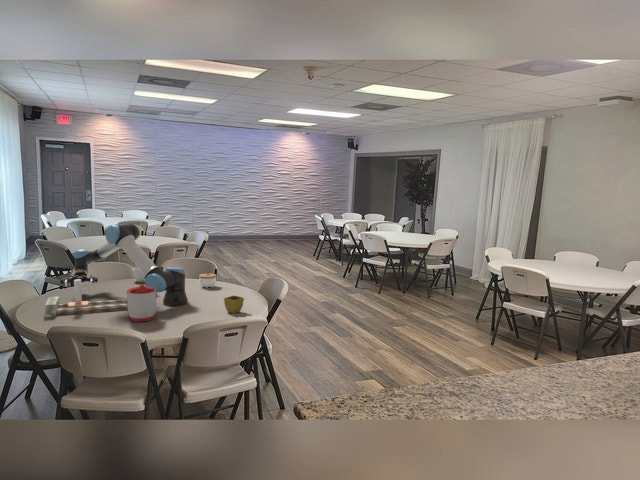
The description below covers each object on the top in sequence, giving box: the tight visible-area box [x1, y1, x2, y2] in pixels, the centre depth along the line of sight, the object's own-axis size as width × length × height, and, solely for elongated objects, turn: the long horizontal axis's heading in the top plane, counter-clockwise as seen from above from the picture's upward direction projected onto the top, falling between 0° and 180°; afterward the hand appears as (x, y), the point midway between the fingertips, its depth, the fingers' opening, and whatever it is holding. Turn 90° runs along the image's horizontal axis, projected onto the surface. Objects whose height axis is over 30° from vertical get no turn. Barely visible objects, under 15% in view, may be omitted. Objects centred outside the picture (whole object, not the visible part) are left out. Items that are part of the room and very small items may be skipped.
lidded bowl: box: [198, 272, 217, 288], centre depth 321 cm, size 13×13×11 cm
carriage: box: [67, 279, 89, 308], centre depth 252 cm, size 10×8×16 cm
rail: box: [44, 296, 128, 318], centre depth 256 cm, size 48×18×7 cm, turn 116°
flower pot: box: [223, 295, 245, 314], centre depth 262 cm, size 9×9×9 cm
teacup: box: [131, 266, 145, 283], centre depth 330 cm, size 12×15×10 cm
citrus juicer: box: [126, 284, 161, 323], centre depth 242 cm, size 16×17×20 cm
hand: (78, 283), depth 260 cm, fingers open, 13 cm apart
